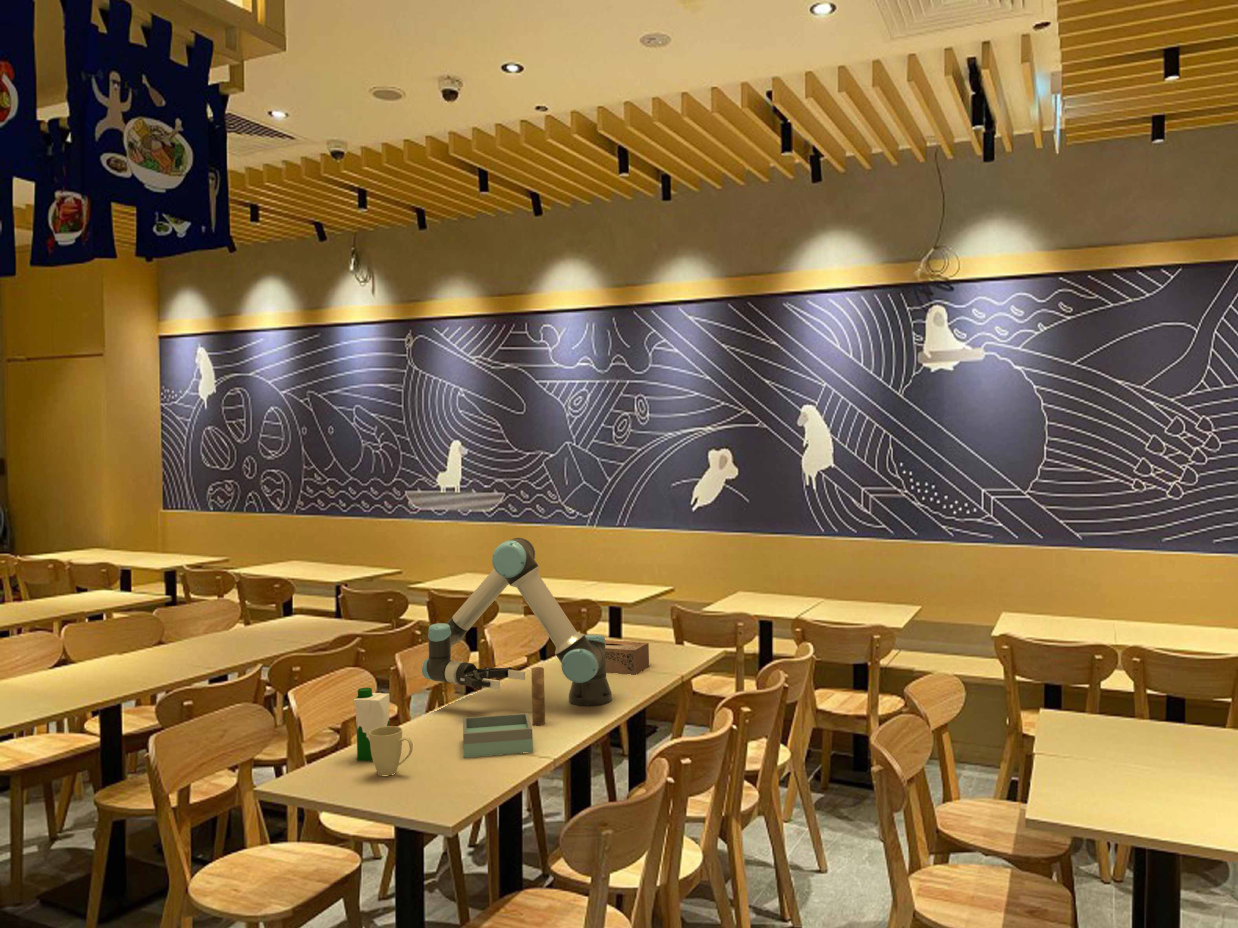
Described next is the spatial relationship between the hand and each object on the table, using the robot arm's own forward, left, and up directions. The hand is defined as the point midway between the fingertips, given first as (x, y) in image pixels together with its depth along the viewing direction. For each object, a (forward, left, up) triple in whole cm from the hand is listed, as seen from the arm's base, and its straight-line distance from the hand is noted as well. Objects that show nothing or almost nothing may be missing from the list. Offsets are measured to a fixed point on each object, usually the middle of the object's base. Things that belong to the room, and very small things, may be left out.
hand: (512, 680), depth 315 cm
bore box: (+6, +26, -13) cm, 30 cm away
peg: (-8, +6, -13) cm, 17 cm away
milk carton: (+42, +27, -13) cm, 52 cm away
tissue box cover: (-43, -63, -14) cm, 77 cm away
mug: (+36, +43, -13) cm, 58 cm away
